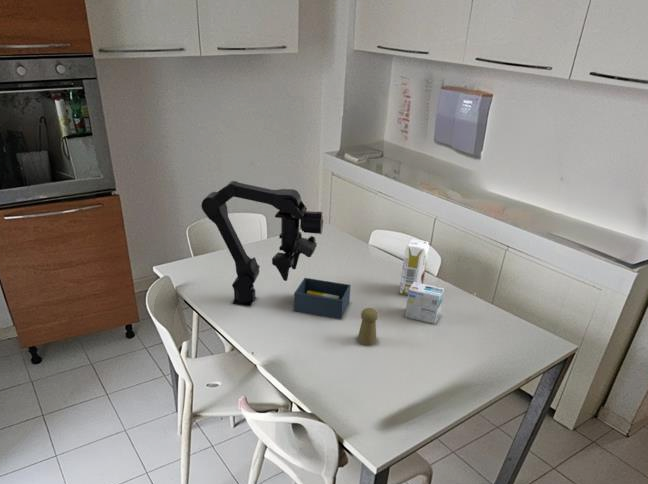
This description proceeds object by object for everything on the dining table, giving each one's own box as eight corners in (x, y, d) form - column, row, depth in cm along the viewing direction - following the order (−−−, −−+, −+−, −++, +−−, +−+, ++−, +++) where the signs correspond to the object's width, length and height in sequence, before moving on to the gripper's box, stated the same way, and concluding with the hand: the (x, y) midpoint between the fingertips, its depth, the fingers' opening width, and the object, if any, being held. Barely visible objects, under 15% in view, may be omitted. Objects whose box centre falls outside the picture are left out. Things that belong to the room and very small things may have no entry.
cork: (364, 347, 162) (367, 317, 156) (353, 338, 166) (356, 308, 160) (380, 343, 164) (383, 312, 158) (369, 333, 169) (372, 303, 163)
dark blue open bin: (293, 311, 180) (294, 292, 176) (304, 295, 190) (304, 277, 186) (341, 319, 176) (342, 301, 172) (349, 302, 186) (350, 284, 182)
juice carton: (397, 294, 192) (404, 245, 182) (403, 284, 199) (409, 237, 188) (418, 298, 190) (426, 249, 179) (422, 288, 196) (430, 240, 186)
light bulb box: (439, 315, 180) (445, 287, 174) (435, 324, 175) (440, 296, 169) (409, 308, 183) (413, 280, 178) (404, 317, 178) (408, 288, 172)
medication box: (340, 306, 182) (341, 296, 180) (338, 309, 180) (339, 298, 178) (307, 300, 185) (308, 289, 183) (305, 302, 183) (305, 292, 181)
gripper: (305, 245, 158) (304, 290, 167) (322, 224, 174) (320, 266, 182) (271, 240, 161) (271, 285, 170) (290, 219, 176) (289, 262, 185)
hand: (289, 274), depth 176 cm, fingers open, 9 cm apart
